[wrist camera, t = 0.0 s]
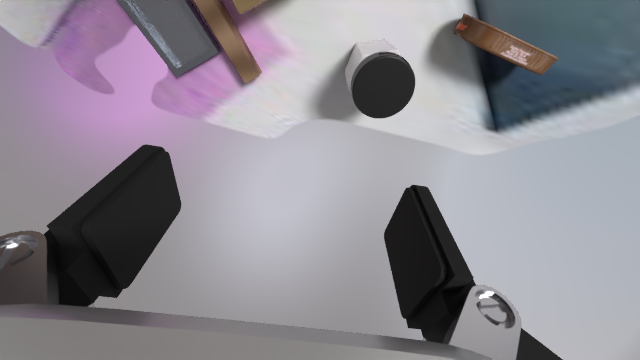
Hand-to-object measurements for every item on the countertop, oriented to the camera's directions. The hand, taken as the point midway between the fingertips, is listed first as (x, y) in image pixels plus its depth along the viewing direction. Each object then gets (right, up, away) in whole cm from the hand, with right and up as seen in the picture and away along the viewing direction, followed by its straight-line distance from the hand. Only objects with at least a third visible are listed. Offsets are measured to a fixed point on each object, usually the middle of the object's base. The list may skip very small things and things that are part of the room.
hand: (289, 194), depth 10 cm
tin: (+28, +23, +29) cm, 46 cm away
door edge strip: (-14, +26, +27) cm, 40 cm away
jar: (+10, +20, +32) cm, 39 cm away
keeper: (-22, +26, +28) cm, 44 cm away
